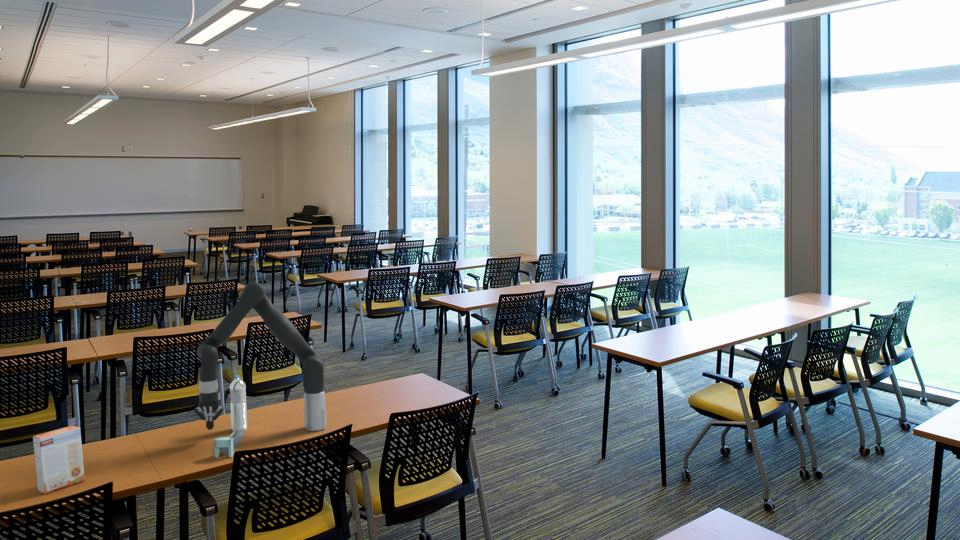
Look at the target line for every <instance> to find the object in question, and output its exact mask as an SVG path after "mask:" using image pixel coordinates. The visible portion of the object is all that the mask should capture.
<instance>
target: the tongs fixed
mask: <svg viewBox="0 0 960 540" xmlns="http://www.w3.org/2000/svg"><path fill="white" fill-rule="evenodd" d="M244 438H245V431H244V429H240V430H239V431H238V432H237V434H236V435H235V436H234V437H233V451H234V450H235V449H236V448H237V447H238V446H239V445H240V443H241V442H242V441H241V440H244ZM240 441H241V442H240ZM220 452H221V454H225V455H224V456H229V448H228V447H220ZM221 454H220V455H221Z"/></svg>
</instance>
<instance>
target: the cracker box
mask: <svg viewBox="0 0 960 540" xmlns="http://www.w3.org/2000/svg"><path fill="white" fill-rule="evenodd" d="M32 441H33V452H34V453H33V454H34V461H35V473H36V474H35V475H36V483H37V491H38V490H39V491H41V492H43V493H47V492H50V491H53V490H56V489H59V488H62V487H65V486H67V485H71V484H74V483H77V484H80V483H83V482H85V478H86V477H85V471H84V470H85V467H84V457H83V446H82V434H81V427H79V426H76V425H68V426H66V427H61V428H58V429H55V430H50V431H47V432H43V433H40V434H36V435H33V436H32ZM82 481H83V482H82ZM79 482H80V483H79ZM74 485H75V484H74ZM71 486H72V485H71ZM65 488H66V487H65ZM62 489H63V488H62ZM39 491H38V492H39ZM41 492H40V493H41ZM43 493H42V494H43Z"/></svg>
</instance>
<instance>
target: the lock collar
mask: <svg viewBox="0 0 960 540" xmlns="http://www.w3.org/2000/svg"><path fill="white" fill-rule="evenodd" d="M213 446H214V458H215V457H216V458H215V459H217V457H220V455H221V454H220V452H221V449H220V448H221V447H228V448H229V455H228V458H232V457H233V456H234V455H233V454H234V451H233V437H229V436H228V437H227V436H226V437H225V436H224V437H215V438H214V440H213Z"/></svg>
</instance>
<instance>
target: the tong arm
mask: <svg viewBox="0 0 960 540" xmlns="http://www.w3.org/2000/svg"><path fill="white" fill-rule="evenodd" d="M238 431H239V429H235V430H234V431H232V432H231V433H230V435H228V437H234V436H235V435H236V434H237V432H238Z"/></svg>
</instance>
